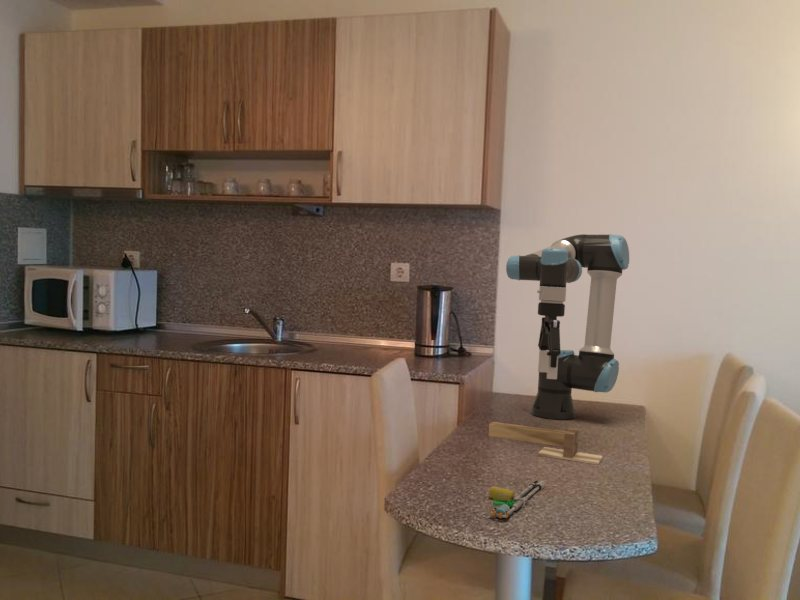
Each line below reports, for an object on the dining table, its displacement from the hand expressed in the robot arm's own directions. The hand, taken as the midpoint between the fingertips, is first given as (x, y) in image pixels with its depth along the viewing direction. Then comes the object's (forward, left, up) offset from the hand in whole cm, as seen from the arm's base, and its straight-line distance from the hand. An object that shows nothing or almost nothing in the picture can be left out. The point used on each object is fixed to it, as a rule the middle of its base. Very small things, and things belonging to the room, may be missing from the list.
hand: (547, 375), depth 199 cm
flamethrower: (+55, +6, -21) cm, 59 cm away
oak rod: (-2, -4, -20) cm, 21 cm away
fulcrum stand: (+10, +10, -20) cm, 24 cm away
